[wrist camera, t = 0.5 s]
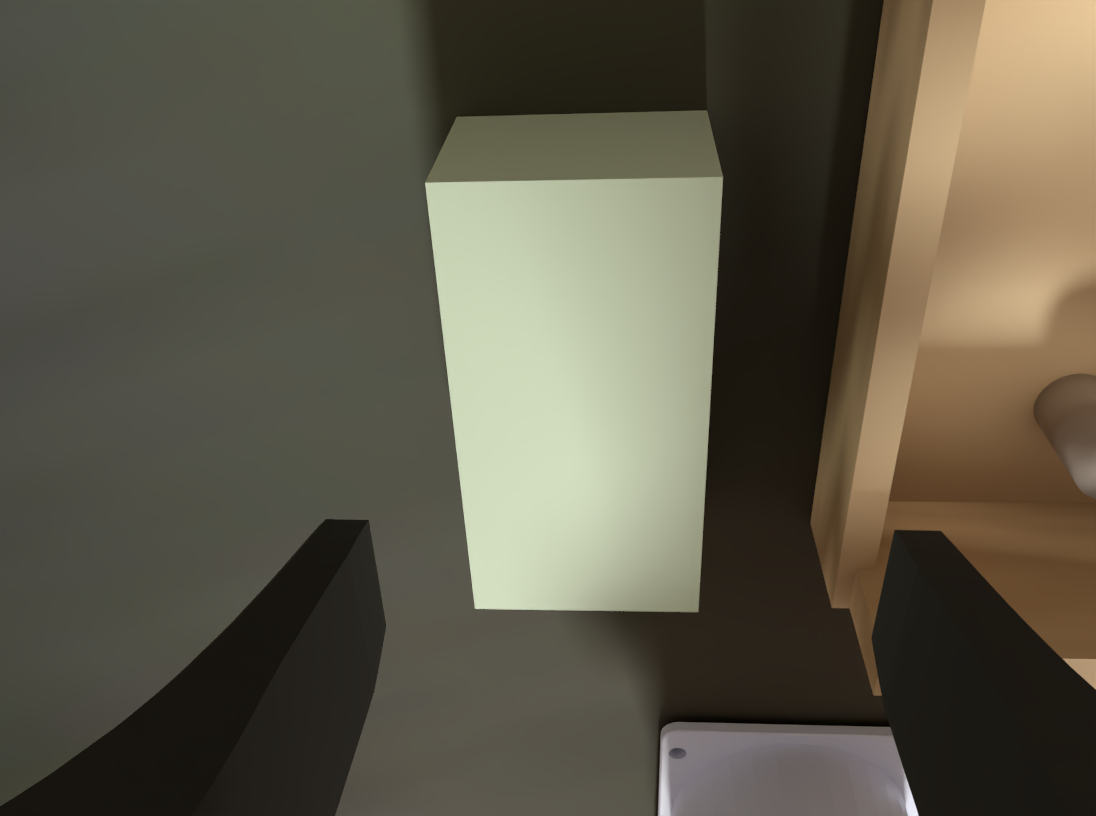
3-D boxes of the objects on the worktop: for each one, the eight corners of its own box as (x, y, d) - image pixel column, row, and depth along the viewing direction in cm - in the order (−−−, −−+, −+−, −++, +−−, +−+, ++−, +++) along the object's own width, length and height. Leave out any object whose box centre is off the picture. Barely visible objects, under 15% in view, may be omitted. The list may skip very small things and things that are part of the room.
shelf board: (688, 499, 25) (698, 612, 22) (494, 497, 25) (474, 608, 22) (706, 106, 19) (722, 177, 16) (458, 112, 20) (424, 182, 17)
